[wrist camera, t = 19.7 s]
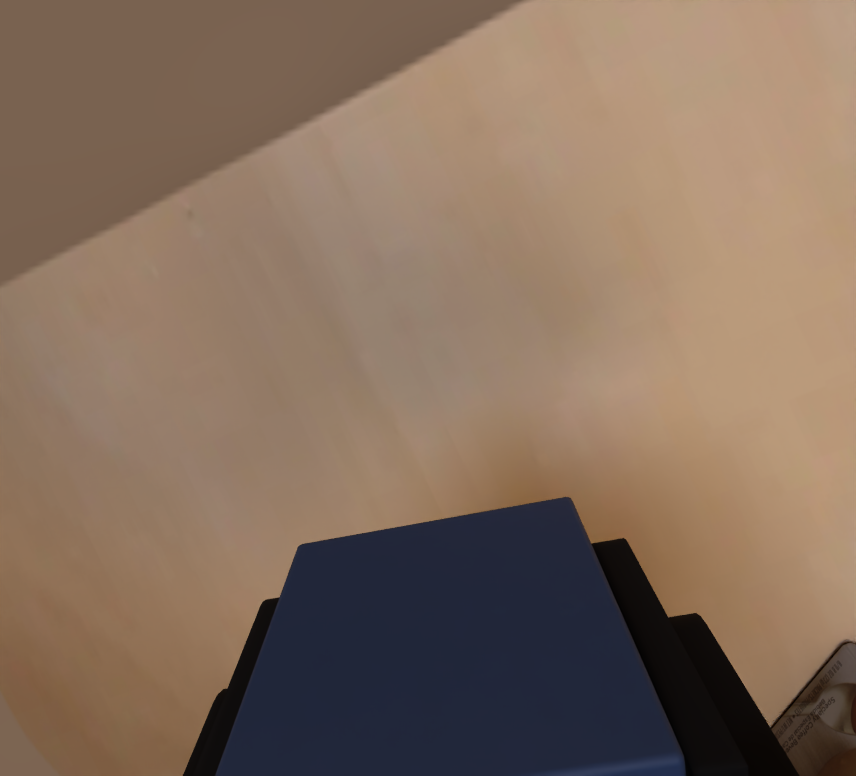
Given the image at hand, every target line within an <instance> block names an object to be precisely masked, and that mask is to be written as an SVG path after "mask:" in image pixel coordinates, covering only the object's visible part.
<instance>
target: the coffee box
mask: <svg viewBox="0 0 856 776" xmlns="http://www.w3.org/2000/svg"><path fill="white" fill-rule="evenodd" d="M771 730H772V732H773V733H774V735H775V736H776V738H777V740H778V741H779V743H780V745H781V746H782V748H783V749H784V751H785V753H786V754H787V756H788V758H789V759H790V761H791V762H792V764H793V766H794V767H795V769H796V771H797V772H798V774H799V775H800V776H856V644H854V643H847V644H845V645H843V646H842V647H841V648H840V649H839V651H838V652H837V653H836V654H835V655H834V656H833V658H832V659H831V660H830V661H829V662H828V663H827V665H826V666H825V667H824V668H823V669H822V670H821V672H820V673H819V674H818V675H817V676H816V677H815V679H814V680H813V681H812V682H811V683H810V684H809V686H808V687H807V688H806V689H805V690H804V692H803V693H802V694H801V695H800V696H799V698H798V699H797V700H796V701H795V702H794V703H793V705H792V706H791V707H790V708H789V709H788V711H787V712H786V713H785V714H784V715H783V716H782V718H781V719H780V720H779V721H778V722H777V723H776V725H775V726H774V727H773V728H772V729H771Z"/></svg>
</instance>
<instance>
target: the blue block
mask: <svg viewBox="0 0 856 776" xmlns="http://www.w3.org/2000/svg"><path fill="white" fill-rule="evenodd" d="M215 776H686V770H685V759H684V755H683V752H682V750H681V748H680V745H679V743H678V741H677V739H676V736H675V734H674V732H673V729H672V727H671V725H670V723H669V720H668V718H667V716H666V713H665V711H664V709H663V707H662V704H661V702H660V700H659V697H658V695H657V693H656V691H655V688H654V686H653V684H652V681H651V679H650V677H649V675H648V672H647V670H646V668H645V665H644V663H643V661H642V659H641V656H640V654H639V652H638V649H637V647H636V645H635V643H634V640H633V638H632V636H631V634H630V631H629V629H628V627H627V624H626V622H625V620H624V618H623V615H622V613H621V611H620V608H619V606H618V604H617V602H616V599H615V597H614V595H613V592H612V590H611V588H610V586H609V583H608V581H607V579H606V576H605V574H604V572H603V570H602V567H601V565H600V563H599V560H598V558H597V556H596V554H595V551H594V549H593V547H592V544H591V542H590V540H589V538H588V535H587V533H586V531H585V528H584V526H583V524H582V522H581V519H580V517H579V515H578V512H577V510H576V508H575V506H574V503H573V501H572V500H571V498H569V497H563V498H557V499H552V500H546V501H541V502H535V503H529V504H524V505H518V506H513V507H507V508H501V509H496V510H490V511H485V512H479V513H473V514H468V515H462V516H457V517H451V518H446V519H440V520H434V521H429V522H423V523H418V524H412V525H406V526H401V527H395V528H390V529H384V530H378V531H373V532H367V533H362V534H356V535H350V536H345V537H339V538H334V539H328V540H323V541H317V542H311V543H306V544H302V545H300V546H298V548H297V551H296V554H295V556H294V559H293V562H292V565H291V568H290V570H289V573H288V576H287V579H286V581H285V584H284V587H283V590H282V592H281V595H280V598H279V601H278V603H277V606H276V609H275V612H274V615H273V617H272V620H271V623H270V626H269V628H268V631H267V634H266V637H265V639H264V642H263V645H262V648H261V650H260V653H259V656H258V659H257V662H256V664H255V667H254V670H253V673H252V675H251V678H250V681H249V684H248V686H247V689H246V692H245V695H244V697H243V700H242V703H241V706H240V708H239V711H238V714H237V717H236V720H235V722H234V725H233V728H232V731H231V733H230V736H229V739H228V742H227V744H226V747H225V750H224V753H223V755H222V758H221V761H220V764H219V767H218V769H217V772H216V775H215Z"/></svg>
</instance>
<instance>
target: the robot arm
mask: <svg viewBox="0 0 856 776" xmlns="http://www.w3.org/2000/svg"><path fill="white" fill-rule="evenodd" d="M592 547H593V549H594V551H595V554H596V556H597V558H598V560H599V563H600V565H601V567H602V570H603V572H604V574H605V576H606V579H607V581H608V583H609V586H610V588H611V590H612V592H613V595H614V597H615V599H616V602H617V604H618V606H619V608H620V611H621V613H622V615H623V618H624V620H625V622H626V624H627V627H628V629H629V631H630V634H631V636H632V638H633V640H634V643H635V645H636V647H637V649H638V652H639V654H640V656H641V659H642V661H643V663H644V665H645V668H646V670H647V672H648V675H649V677H650V679H651V681H652V684H653V686H654V688H655V691H656V693H657V695H658V697H659V700H660V702H661V704H662V707H663V709H664V711H665V713H666V716H667V718H668V720H669V723H670V725H671V727H672V729H673V732H674V734H675V736H676V739H677V741H678V743H679V745H680V748H681V750H682V752H683V755H684V759H685V770H686V776H800V775H799V774H798V772H797V771H796V769H795V767H794V766H793V764H792V762H791V761H790V759H789V758H788V756H787V754H786V753H785V751H784V749H783V748H782V746H781V745H780V743H779V741H778V740H777V738H776V736H775V735H774V733H773V732H772V730H771V728H770V727H769V725H768V723H767V722H766V720H765V719H764V717H763V715H762V714H761V712H760V710H759V709H758V707H757V706H756V704H755V702H754V701H753V699H752V697H751V696H750V694H749V693H748V691H747V689H746V688H745V686H744V684H743V683H742V681H741V680H740V678H739V676H738V675H737V673H736V671H735V670H734V668H733V667H732V665H731V663H730V662H729V660H728V658H727V657H726V655H725V654H724V652H723V650H722V649H721V647H720V645H719V644H718V642H717V641H716V639H715V637H714V636H713V634H712V632H711V631H710V629H709V628H708V626H707V624H706V623H705V622H704V620H703V619H702V617H701V616H700V615H698V614H697V613H693V614H687V615H680V616H674V617H668V616H667V614H666V613H665V611H664V609H663V607H662V605H661V603H660V601H659V600H658V598H657V596H656V594H655V592H654V590H653V588H652V586H651V585H650V583H649V581H648V579H647V577H646V575H645V573H644V572H643V570H642V568H641V566H640V564H639V562H638V560H637V559H636V557H635V555H634V553H633V551H632V549H631V547H630V546H629V544H628V542H627V541H626V539H624V538H622V539H616V540H610V541H604V542H598V543H592ZM279 598H280V597H279ZM279 598H273V599H268V600H265V601H263V602H262V604H261V606H260V608H259V611H258V613H257V616H256V618H255V621H254V623H253V626H252V628H251V631H250V633H249V636H248V639H247V641H246V644H245V646H244V649H243V651H242V654H241V656H240V659H239V661H238V664H237V666H236V669H235V671H234V674H233V676H232V679H231V681H230V684H229V686H228V689H223V690H222V691H221V692H220V693H219V694H218V695H217V697H216V699H215V700H214V702H213V704H212V707H211V709H210V712H209V714H208V716H207V719H206V721H205V724H204V726H203V728H202V731H201V733H200V736H199V738H198V740H197V743H196V745H195V748H194V750H193V752H192V755H191V757H190V760H189V762H188V764H187V767H186V769H185V772H184V774H183V776H215V775H216V772H217V769H218V767H219V764H220V761H221V758H222V755H223V753H224V750H225V747H226V744H227V742H228V739H229V736H230V733H231V731H232V728H233V725H234V722H235V720H236V717H237V714H238V711H239V708H240V706H241V703H242V700H243V697H244V695H245V692H246V689H247V686H248V684H249V681H250V678H251V675H252V673H253V670H254V667H255V664H256V662H257V659H258V656H259V653H260V650H261V648H262V645H263V642H264V639H265V637H266V634H267V631H268V628H269V626H270V623H271V620H272V617H273V615H274V612H275V609H276V606H277V603H278V601H279Z"/></svg>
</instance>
